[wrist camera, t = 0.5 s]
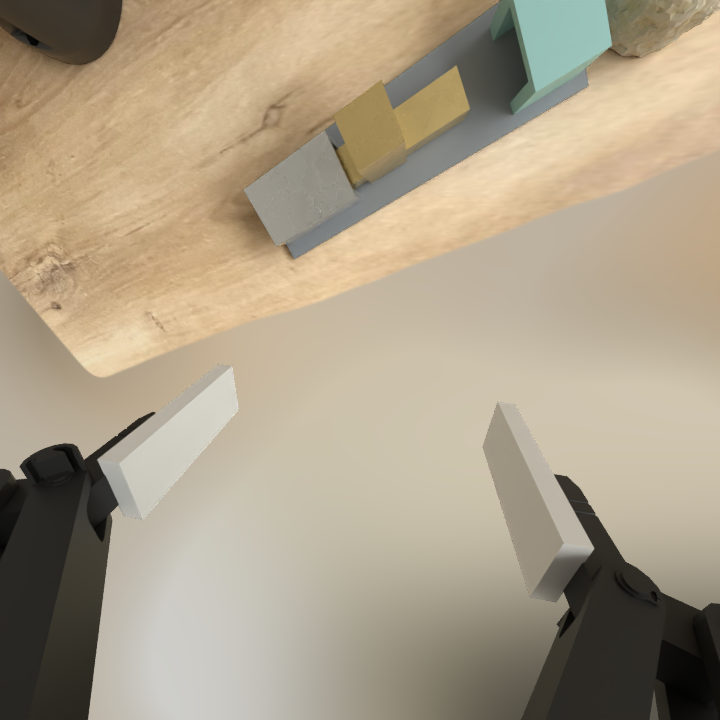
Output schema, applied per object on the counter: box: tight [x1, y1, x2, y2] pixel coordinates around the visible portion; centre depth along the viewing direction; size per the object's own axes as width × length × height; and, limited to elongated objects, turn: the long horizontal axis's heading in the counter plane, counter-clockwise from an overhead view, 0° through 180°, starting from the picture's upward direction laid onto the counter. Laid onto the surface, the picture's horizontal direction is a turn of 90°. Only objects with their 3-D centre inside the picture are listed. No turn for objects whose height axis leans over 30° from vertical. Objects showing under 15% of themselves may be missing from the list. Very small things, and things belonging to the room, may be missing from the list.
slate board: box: [286, 2, 589, 259], centre depth 30 cm, size 9×32×1 cm, turn 118°
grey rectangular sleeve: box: [244, 130, 363, 246], centre depth 30 cm, size 6×10×5 cm, turn 118°
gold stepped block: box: [333, 65, 470, 189], centre depth 26 cm, size 4×20×9 cm, turn 118°
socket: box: [490, 0, 612, 115], centre depth 23 cm, size 7×5×6 cm
